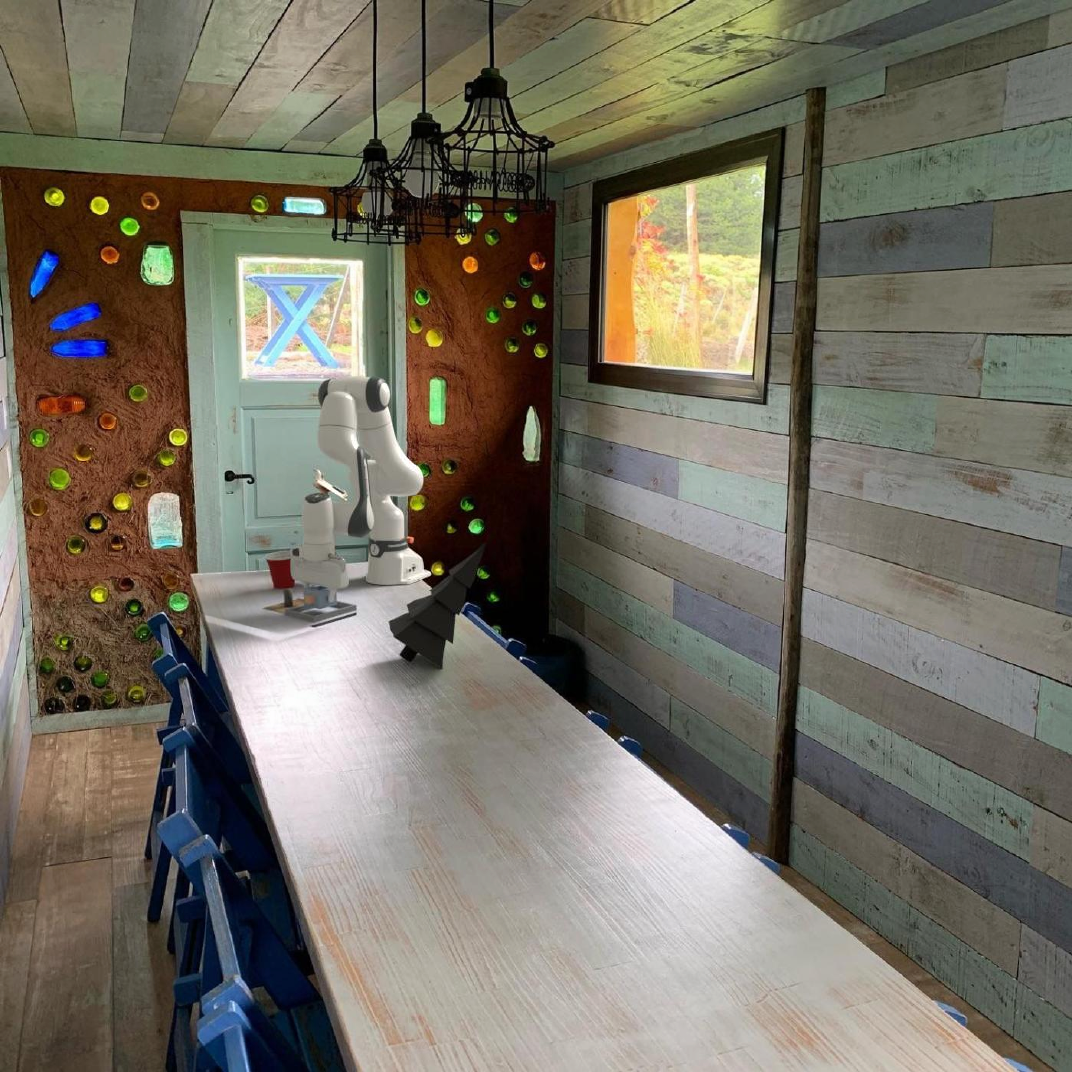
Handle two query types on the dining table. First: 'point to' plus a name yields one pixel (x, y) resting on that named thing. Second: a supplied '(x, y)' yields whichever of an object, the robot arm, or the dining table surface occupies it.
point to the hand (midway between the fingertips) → (320, 599)
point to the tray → (344, 609)
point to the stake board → (281, 606)
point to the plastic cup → (280, 569)
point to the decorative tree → (435, 614)
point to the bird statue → (327, 486)
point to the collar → (318, 597)
